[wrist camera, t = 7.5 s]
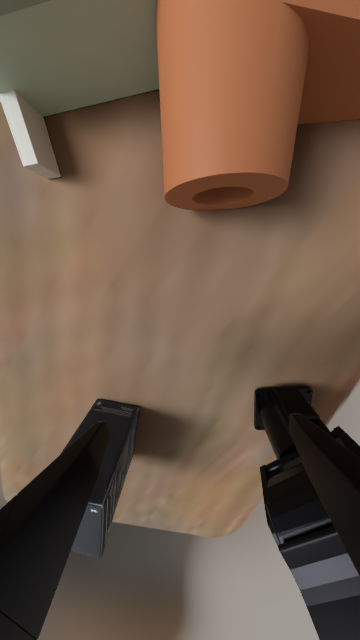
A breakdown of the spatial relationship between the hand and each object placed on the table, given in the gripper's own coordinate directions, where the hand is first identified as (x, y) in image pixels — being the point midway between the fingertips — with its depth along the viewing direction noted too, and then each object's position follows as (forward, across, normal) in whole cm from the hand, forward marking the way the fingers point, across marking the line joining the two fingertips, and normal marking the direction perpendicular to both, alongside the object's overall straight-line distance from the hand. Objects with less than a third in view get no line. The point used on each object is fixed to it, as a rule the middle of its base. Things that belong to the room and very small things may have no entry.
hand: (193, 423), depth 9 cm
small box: (+12, +13, +15) cm, 23 cm away
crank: (+12, -10, -14) cm, 21 cm away
